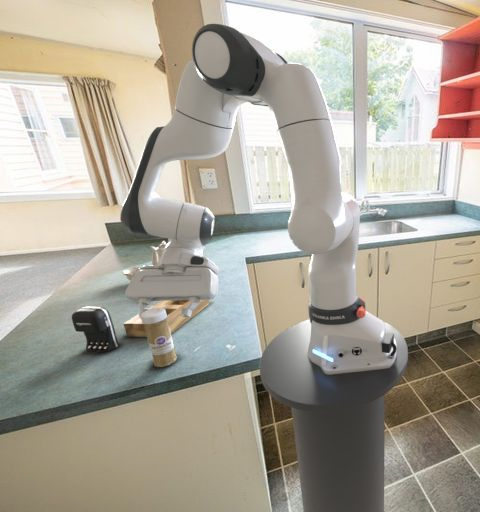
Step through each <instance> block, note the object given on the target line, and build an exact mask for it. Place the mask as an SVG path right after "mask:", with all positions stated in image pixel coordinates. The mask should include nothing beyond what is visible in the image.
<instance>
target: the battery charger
mask: <svg viewBox="0 0 480 512" xmlns="http://www.w3.org/2000/svg"><path fill="white" fill-rule="evenodd" d="M71 321H72V325H73V328H74V330H75V332H78V333H83V334H84V336H85V339H86V344H85V345H86V346H85V348H86V349H85V350H86V351H87V352H93V353H94V352H95V353H107V352H110V351H112V350H114V349H116V348H118V347H119V345H120V343H119V340H118V337H117V334H116V330H115V326H114V323H113V320H112V316H111V314H110V311H109V310H108V309H107V308H106V307H103V306H85V307H81V308H80V309H78V310H76V311H74V312H73V313H72V315H71Z"/></svg>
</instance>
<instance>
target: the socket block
mask: <svg viewBox="0 0 480 512" xmlns="http://www.w3.org/2000/svg"><path fill="white" fill-rule="evenodd" d="M189 304H190V301H189V300H170V301H157V303H155V304H153V305H152V306H150V307H148V310H150V309H154V308H164V309H165V310H166V314H167V322H168V325H169V328H170V332H171V335H172V334H173V333H175V332H176V331H177V330H178V329H180V328H181V327H182V326H184V325H185V324H186V323H187V322H189V321H190V320H191V319H192V318H194V317H195V316H196V315H198V314H199V313H201V311H203V310H204V309H205V308H206V307H208V306H209V305H210V304H211V301H210V300H200V302H199V304H198V305H197V306H196V308H195V309H194V310H192V314H191V317H183V316H181V313H182V308H186V307H187V306H188V305H189ZM139 315H140V313H138V314H137V315H134V316H133V317H131V318H130V319H128V320H127V321H125V322H124V323H123V327H124V331H125V334H126V337H142V338H147V335H146V331H145V327H144V325H143V323H142V320H141V317H139Z"/></svg>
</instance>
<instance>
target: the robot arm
mask: <svg viewBox="0 0 480 512" xmlns="http://www.w3.org/2000/svg"><path fill="white" fill-rule="evenodd" d="M191 57H192V59H191V60H189V61H188V62H187V63H186V65H185V67H184V69H183V71H182V74H181V78H180V81H179V84H178V89H177V92H176V97H175V103H174V109H173V114H172V116H171V118H170V120H169V121H168V123H167V124H166V125H163V126H157V127H155V128H154V129H153V131H152V132H151V134H150V135H149V137H148V138H147V140H146V144H145V145H144V148H143V151H142V153H141V156H140V159H139V162H138V165H137V168H136V171H135V174H134V177H133V179H132V183H131V186H130V188H129V192H128V194H127V196H126V198H125V200H124V201H123V203H122V205H121V208H120V213H119V216H120V218H119V219H120V222H121V223H122V225H123V226H124V227H125V228H126V229H127V230H128V231H129V232H131V233H132V234H133V235H142V236H153V237H160V238H165V239H168V240H167V246H166V247H165V248H164V251H163V254H162V257H161V260H160V263H159V265H154V266H153V265H148V264H147V265H143V266H142V267H140V269H138V270H137V271H136V272H135V275H134V276H133V278H132V280H131V281H130V280H129V283H128V285H127V287H126V288H125V292H124V295H125V297H126V299H129V300H130V301H133V302H138V305H139V308H140V312H139V314H140V315H139V317H141V314H142V313H143V312H145V311H147V310H148V308H149V306H150V305H151V304H152V302H160V301H170V300H189V301H190V304H189V305H188V306H187V307H186V308H182V313H181V316H183V317H191V314H192V310H194V309H195V308H196V306H197V305H198V304H199V302H200V300H209V301H210V300H214V298H215V297H217V295H218V291H219V281H220V280H219V276H218V274H219V273H220V268H219V267H218V266H217V265H216V263H214V262H213V261H212V260H210V259H209V258H208V257H204V252H203V251H204V249H205V247H206V246H207V245H208V244H210V243H211V242H212V241H213V235H214V232H215V228H216V223H217V219H216V217H215V215H214V214H213V212H212V211H211V210H210V209H209V208H208V207H205V206H203V205H200V204H196V203H191V202H187V201H181V200H178V199H173V198H170V197H165V196H162V195H159V193H157V191H156V190H157V187H158V184H159V181H160V178H161V175H162V173H163V171H164V167H165V165H166V164H168V163H171V162H174V161H187V160H188V161H189V160H191V161H196V160H197V161H198V160H208V159H212V158H216V157H218V156H220V155H222V154H223V153H224V152H226V151H227V150H228V148H229V146H230V142H231V140H232V136H233V132H234V128H235V123H236V116H237V113H238V110H239V108H240V106H241V105H243V104H245V103H251V104H252V105H253V106H260V107H261V106H263V107H267V108H268V109H269V110H270V112H271V115H272V118H273V122H274V125H275V129H276V132H277V136H278V139H279V143H280V146H281V147H280V148H281V151H282V154H283V157H284V161H285V165H286V168H287V175H288V181H289V195H290V215H289V218H288V220H287V234H288V236H289V239H290V241H291V242H292V244H293V245H294V246H295V247H296V248H297V249H298V250H300V251H301V252H303V253H305V254H308V255H311V257H310V262H309V265H308V269H307V279H308V291H309V300H308V305H307V306H308V309H307V310H308V318H309V319H310V323H311V337H310V344H309V348H308V357H309V359H310V360H311V361H312V362H313V363H314V364H316V365H318V366H320V367H321V369H322V370H323V372H324V373H325V374H327V375H332V374H341V373H350V372H360V371H369V370H378V369H387V368H390V367H391V366H392V365H393V363H394V362H395V359H396V355H397V346H396V341H395V338H394V333H392V332H387V330H386V327H385V324H384V322H385V321H384V320H382V319H380V318H379V317H377V316H375V315H374V314H373V313H371V312H370V311H367V310H366V299H365V296H363V297H362V298H361V297H359V296H358V295H357V293H358V292H357V291H358V289H357V260H358V252H359V240H360V239H359V238H360V222H361V208H360V205H359V203H358V201H357V200H356V199H355V198H354V197H353V196H351V195H350V194H347V193H345V192H343V191H342V179H341V165H342V159H341V155H340V151H339V147H338V143H337V139H336V134H335V130H334V125H333V122H332V119H331V118H332V117H331V114H330V111H329V107H328V105H327V104H328V103H327V101H326V98H325V95H324V92H323V90H322V88H321V85H320V83H319V81H318V78H317V76H316V74H315V73H314V71H313V70H312V69H311V68H309V67H308V66H306V65H304V64H301V63H298V62H297V63H296V62H288V61H287V60H286V59H285V58H284V57H283V55H280V54H279V53H277V52H276V51H275V52H274V51H273V50H272V49H270V47H268V46H267V45H265V44H263V43H262V42H261V41H260V40H258V39H256V38H254V37H252V36H250V35H247V34H246V33H243V32H240V31H239V30H238V29H236V28H234V27H232V26H230V25H225V24H222V23H208V24H205V25H203V26H201V27H200V28H199V29H198V30H197V32H196V33H195V35H194V37H193V40H192V43H191ZM383 321H384V322H383Z"/></svg>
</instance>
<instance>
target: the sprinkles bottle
mask: <svg viewBox="0 0 480 512" xmlns="http://www.w3.org/2000/svg"><path fill="white" fill-rule="evenodd" d="M141 320H142V323H143V325H144V327H145V331H146V335H147V337H146V338H147V343H148V346H149V350H150V352H151V356H152V359H153V366H154V367H156V368H164V367H168V366H170V365H173V363H175V362H176V361H177V359H178V356H177V355H176V349H175V344H174V341H173V336H172V334H171V332H170V328H169V325H168V322H167V314H166V310H165V309H164V308H154V309H150V310H147V311H145V312H143V313H142V314H141Z"/></svg>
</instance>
